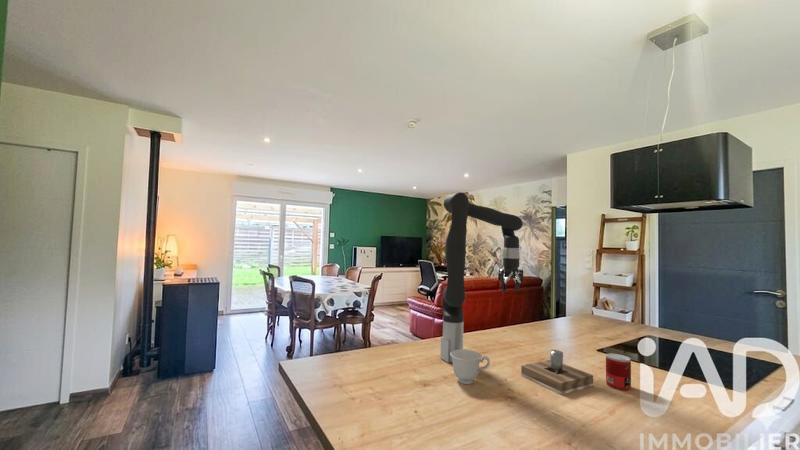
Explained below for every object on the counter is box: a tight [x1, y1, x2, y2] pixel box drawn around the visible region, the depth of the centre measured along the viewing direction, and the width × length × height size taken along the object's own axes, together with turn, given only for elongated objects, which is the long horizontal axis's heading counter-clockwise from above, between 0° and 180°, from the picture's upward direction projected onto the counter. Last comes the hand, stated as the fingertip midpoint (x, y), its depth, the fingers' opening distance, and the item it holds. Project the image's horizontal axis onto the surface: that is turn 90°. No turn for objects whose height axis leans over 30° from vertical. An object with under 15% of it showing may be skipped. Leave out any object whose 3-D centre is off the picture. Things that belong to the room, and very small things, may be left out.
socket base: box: [520, 359, 594, 396], centre depth 129 cm, size 18×18×4 cm
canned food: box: [605, 353, 632, 391], centre depth 126 cm, size 8×8×11 cm
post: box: [549, 349, 564, 374], centre depth 130 cm, size 4×4×10 cm
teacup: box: [450, 348, 491, 385], centre depth 127 cm, size 12×15×10 cm
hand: (510, 291), depth 160 cm, fingers open, 8 cm apart
